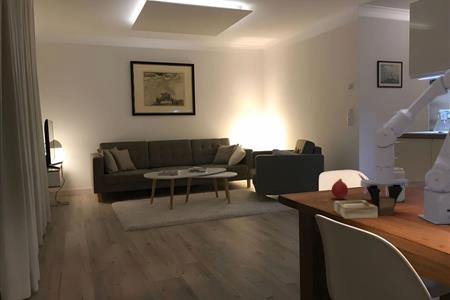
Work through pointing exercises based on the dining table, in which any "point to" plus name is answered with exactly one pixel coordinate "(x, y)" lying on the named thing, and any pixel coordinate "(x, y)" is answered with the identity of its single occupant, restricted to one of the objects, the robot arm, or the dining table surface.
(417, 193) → the dining table surface
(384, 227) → the dining table surface
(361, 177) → the lily
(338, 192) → the onion
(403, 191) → the beverage can
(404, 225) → the dining table surface
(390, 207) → the walnut block
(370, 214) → the beech base
